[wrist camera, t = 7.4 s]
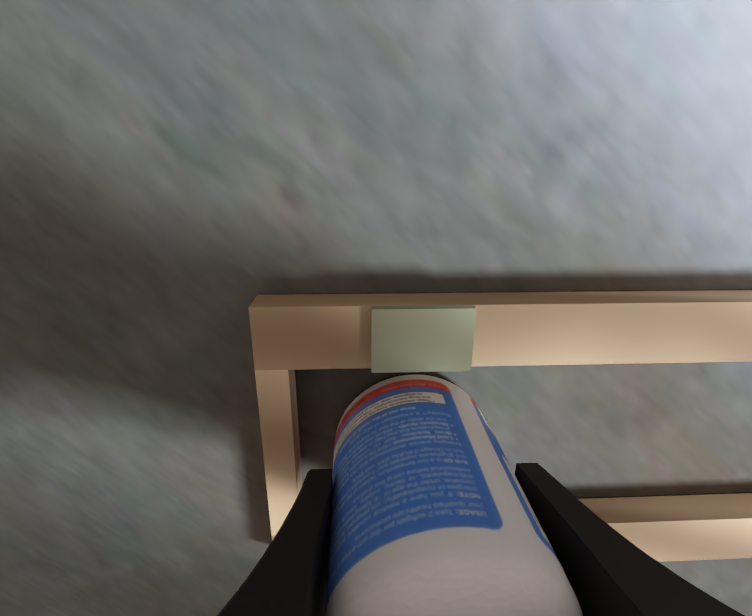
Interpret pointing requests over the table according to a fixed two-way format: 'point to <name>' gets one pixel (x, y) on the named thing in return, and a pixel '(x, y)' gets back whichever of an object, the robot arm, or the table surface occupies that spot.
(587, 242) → the table surface
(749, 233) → the table surface
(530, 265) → the table surface
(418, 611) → the pill bottle
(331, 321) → the open wooden frame
